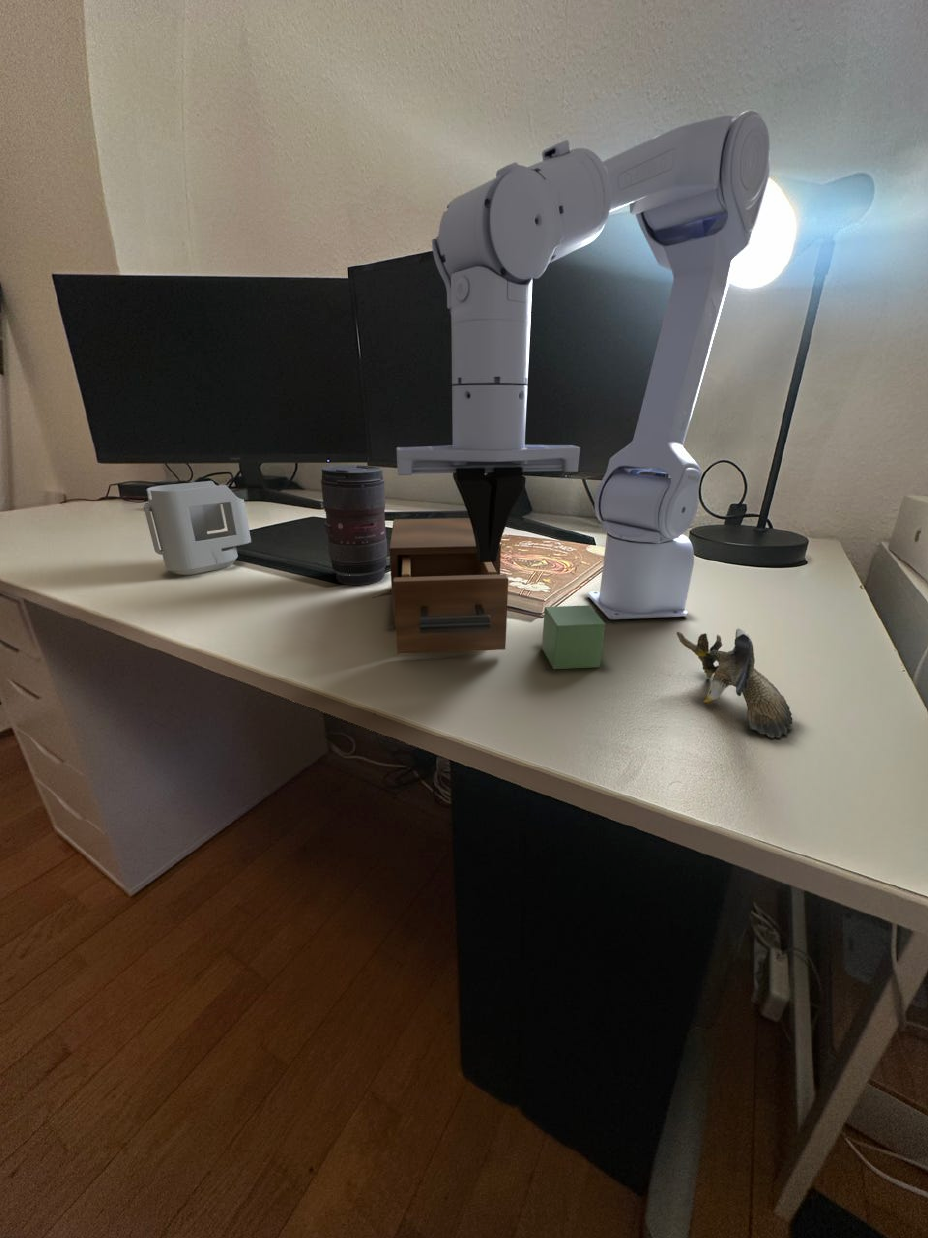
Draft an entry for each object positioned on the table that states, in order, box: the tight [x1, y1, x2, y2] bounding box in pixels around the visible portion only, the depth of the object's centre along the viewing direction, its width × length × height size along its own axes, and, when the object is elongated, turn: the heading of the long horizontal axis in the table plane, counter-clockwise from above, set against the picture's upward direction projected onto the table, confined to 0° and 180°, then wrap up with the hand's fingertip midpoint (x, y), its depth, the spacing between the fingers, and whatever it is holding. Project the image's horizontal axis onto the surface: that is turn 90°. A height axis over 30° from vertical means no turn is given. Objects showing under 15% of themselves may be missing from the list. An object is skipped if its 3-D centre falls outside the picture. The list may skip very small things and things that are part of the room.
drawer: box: [393, 553, 509, 655], centre depth 49 cm, size 17×10×7 cm, turn 6°
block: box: [541, 604, 606, 670], centre depth 47 cm, size 4×4×4 cm
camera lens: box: [320, 464, 388, 586], centre depth 66 cm, size 8×8×15 cm
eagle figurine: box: [676, 627, 793, 739], centre depth 40 cm, size 8×7×9 cm
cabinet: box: [388, 517, 502, 630], centre depth 59 cm, size 14×12×9 cm
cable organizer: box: [143, 480, 252, 576], centre depth 71 cm, size 7×12×12 cm, turn 134°
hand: (486, 558), depth 43 cm, fingers closed
